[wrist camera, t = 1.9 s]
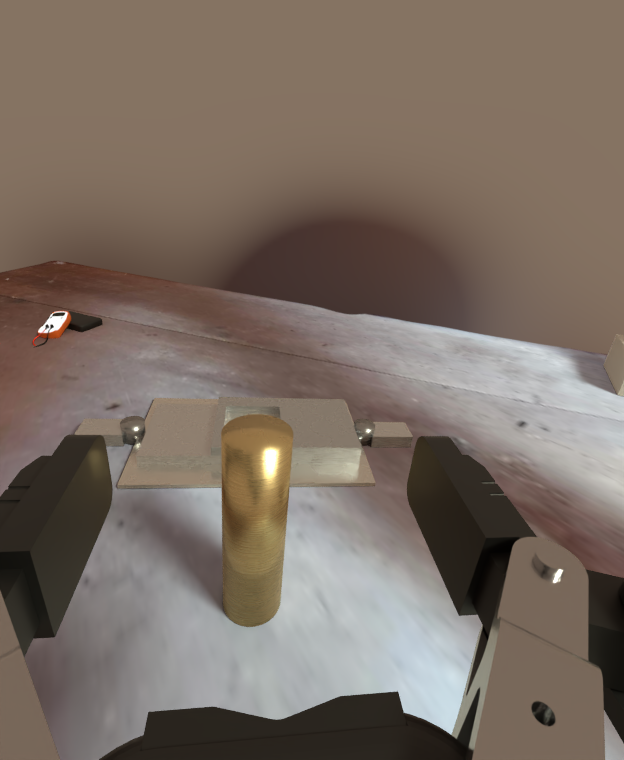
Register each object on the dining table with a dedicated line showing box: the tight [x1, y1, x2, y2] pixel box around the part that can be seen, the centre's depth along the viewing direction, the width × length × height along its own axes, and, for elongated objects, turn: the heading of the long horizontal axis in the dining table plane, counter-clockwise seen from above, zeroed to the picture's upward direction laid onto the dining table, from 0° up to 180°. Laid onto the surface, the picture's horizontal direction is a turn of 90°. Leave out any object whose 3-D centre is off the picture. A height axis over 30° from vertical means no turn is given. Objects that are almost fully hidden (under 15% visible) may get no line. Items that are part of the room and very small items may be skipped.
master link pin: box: [221, 414, 293, 627], centre depth 27 cm, size 4×4×14 cm
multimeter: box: [33, 311, 102, 348], centre depth 67 cm, size 18×12×3 cm, turn 155°
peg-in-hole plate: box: [74, 397, 413, 489], centre depth 47 cm, size 36×16×2 cm, turn 96°
